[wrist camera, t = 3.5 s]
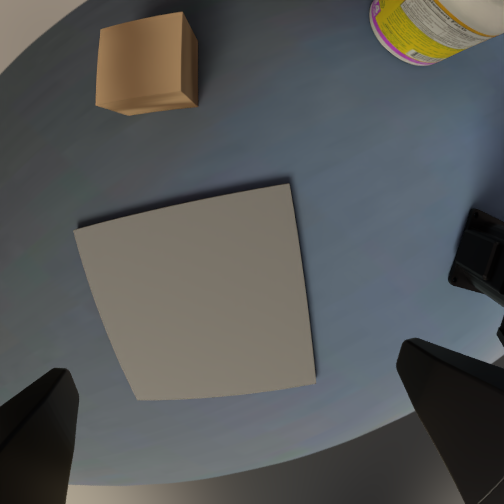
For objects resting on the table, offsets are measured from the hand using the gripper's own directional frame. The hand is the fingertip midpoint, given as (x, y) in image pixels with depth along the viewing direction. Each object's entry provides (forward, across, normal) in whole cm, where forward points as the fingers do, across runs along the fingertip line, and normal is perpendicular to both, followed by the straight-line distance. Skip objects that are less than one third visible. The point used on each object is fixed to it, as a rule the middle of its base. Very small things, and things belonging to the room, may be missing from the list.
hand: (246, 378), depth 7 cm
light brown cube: (+16, +3, -11) cm, 20 cm away
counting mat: (+15, +1, +6) cm, 16 cm away
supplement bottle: (+13, -14, -16) cm, 25 cm away
